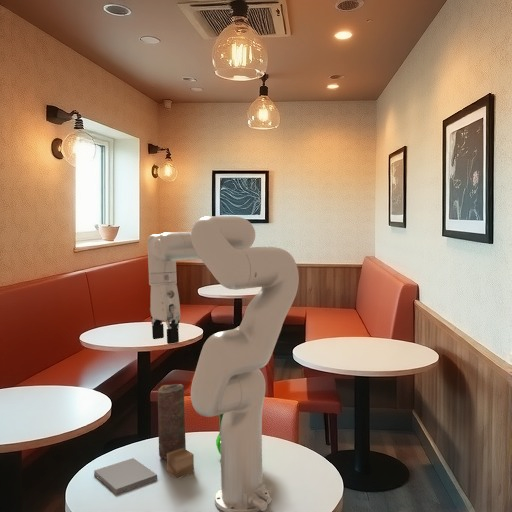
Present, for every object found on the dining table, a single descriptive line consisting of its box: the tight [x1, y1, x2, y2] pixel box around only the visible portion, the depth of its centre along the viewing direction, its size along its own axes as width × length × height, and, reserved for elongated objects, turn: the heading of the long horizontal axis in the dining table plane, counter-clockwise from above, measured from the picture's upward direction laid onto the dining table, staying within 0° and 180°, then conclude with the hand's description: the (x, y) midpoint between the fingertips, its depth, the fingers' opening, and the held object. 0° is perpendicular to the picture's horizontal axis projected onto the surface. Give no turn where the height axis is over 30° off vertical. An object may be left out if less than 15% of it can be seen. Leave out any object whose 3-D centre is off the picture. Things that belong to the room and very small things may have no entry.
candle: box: [157, 383, 187, 460], centre depth 144 cm, size 8×7×20 cm
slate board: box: [93, 457, 158, 495], centre depth 133 cm, size 13×11×1 cm
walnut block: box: [166, 448, 195, 479], centre depth 136 cm, size 5×5×5 cm
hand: (165, 340), depth 145 cm, fingers open, 9 cm apart
